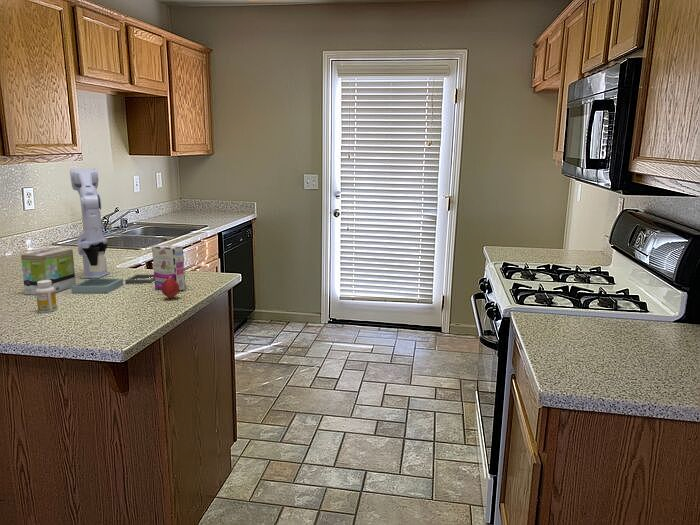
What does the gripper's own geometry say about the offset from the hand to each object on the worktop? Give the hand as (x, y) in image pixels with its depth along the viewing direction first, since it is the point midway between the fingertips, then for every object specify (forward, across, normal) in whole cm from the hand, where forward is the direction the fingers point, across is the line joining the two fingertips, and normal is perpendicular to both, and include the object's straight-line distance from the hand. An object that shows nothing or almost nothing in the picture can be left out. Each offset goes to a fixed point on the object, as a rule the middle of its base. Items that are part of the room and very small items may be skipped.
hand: (96, 264), depth 202 cm
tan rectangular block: (+2, 0, 0) cm, 2 cm away
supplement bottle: (+10, -29, +3) cm, 30 cm away
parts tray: (+9, 0, 0) cm, 9 cm away
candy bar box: (+10, -1, -27) cm, 29 cm away
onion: (+10, -14, -32) cm, 36 cm away
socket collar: (+9, +13, -11) cm, 20 cm away
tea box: (+10, -2, +17) cm, 20 cm away
